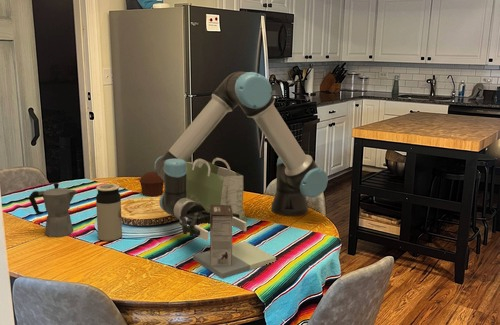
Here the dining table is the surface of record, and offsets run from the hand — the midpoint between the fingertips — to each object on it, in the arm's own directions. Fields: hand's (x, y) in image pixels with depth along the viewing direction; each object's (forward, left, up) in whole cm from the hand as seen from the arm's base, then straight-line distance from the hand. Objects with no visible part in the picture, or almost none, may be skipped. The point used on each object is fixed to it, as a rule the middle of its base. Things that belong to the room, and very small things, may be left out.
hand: (227, 231), depth 141 cm
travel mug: (+19, -43, -12) cm, 48 cm away
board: (-5, -3, -11) cm, 13 cm away
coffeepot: (+33, -57, -12) cm, 67 cm away
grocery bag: (-23, -44, -12) cm, 51 cm away
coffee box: (0, -3, -10) cm, 11 cm away
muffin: (-16, -83, -12) cm, 86 cm away
